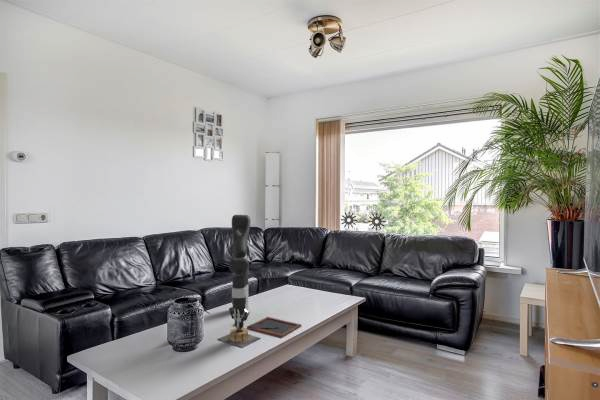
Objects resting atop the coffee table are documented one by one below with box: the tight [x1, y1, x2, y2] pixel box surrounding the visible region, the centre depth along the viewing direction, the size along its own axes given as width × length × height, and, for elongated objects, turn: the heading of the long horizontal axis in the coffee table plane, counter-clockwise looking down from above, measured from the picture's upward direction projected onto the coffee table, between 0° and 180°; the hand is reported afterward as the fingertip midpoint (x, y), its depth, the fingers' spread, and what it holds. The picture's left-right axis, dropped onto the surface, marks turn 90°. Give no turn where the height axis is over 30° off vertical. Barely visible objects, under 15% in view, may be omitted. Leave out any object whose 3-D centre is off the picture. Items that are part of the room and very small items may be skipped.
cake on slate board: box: [217, 327, 261, 349], centre depth 186 cm, size 18×14×4 cm
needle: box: [237, 314, 241, 333], centre depth 186 cm, size 2×2×12 cm
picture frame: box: [246, 316, 302, 339], centre depth 203 cm, size 20×2×25 cm
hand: (239, 327), depth 186 cm, fingers closed on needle, 2 cm apart
